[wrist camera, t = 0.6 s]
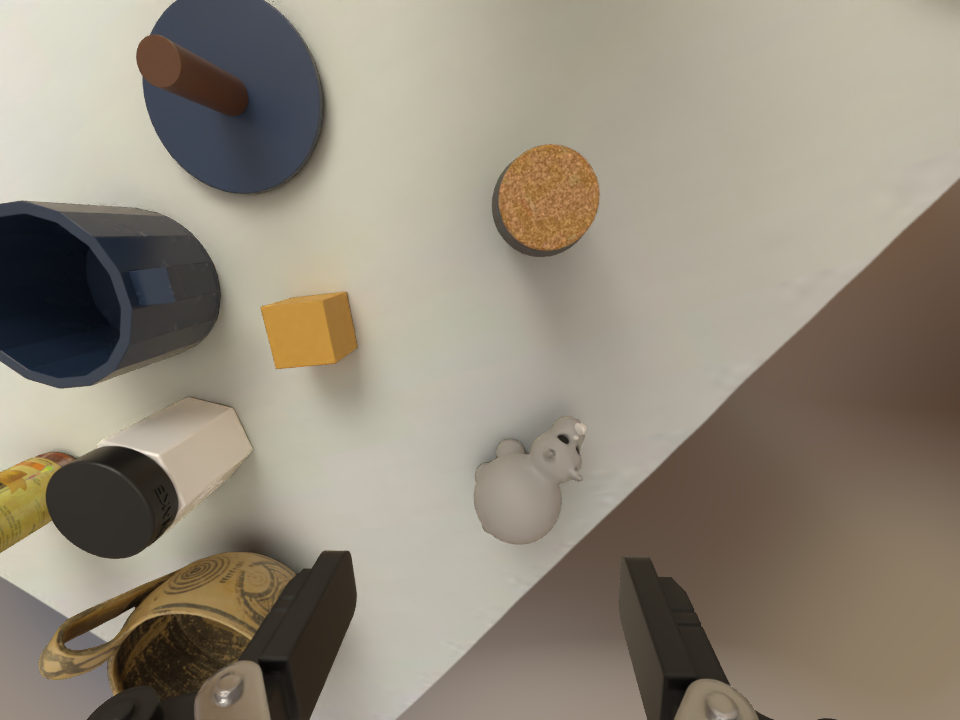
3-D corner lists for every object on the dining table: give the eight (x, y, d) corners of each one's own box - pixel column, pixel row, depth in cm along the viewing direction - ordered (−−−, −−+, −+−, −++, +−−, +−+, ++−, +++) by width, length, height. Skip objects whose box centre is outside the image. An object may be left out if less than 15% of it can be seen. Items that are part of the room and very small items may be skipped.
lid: (130, 12, 33) (11, -56, 25) (304, -21, 32) (234, -104, 24) (184, 204, 37) (95, 197, 29) (342, 182, 36) (293, 168, 28)
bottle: (579, 239, 35) (623, 244, 21) (508, 258, 36) (503, 276, 22) (563, 163, 34) (599, 111, 20) (490, 185, 35) (471, 151, 20)
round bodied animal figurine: (608, 430, 40) (633, 481, 32) (520, 514, 43) (521, 581, 35) (549, 379, 39) (558, 419, 31) (462, 469, 42) (450, 527, 34)
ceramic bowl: (392, 602, 47) (338, 766, 33) (305, 686, 51) (223, 863, 37) (217, 474, 44) (73, 592, 30) (141, 575, 49) (-16, 719, 34)
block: (291, 297, 38) (260, 307, 34) (346, 291, 38) (322, 300, 33) (304, 352, 40) (275, 369, 35) (357, 347, 39) (335, 363, 35)
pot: (34, 223, 38) (-115, 220, 29) (227, 196, 37) (131, 184, 27) (85, 361, 42) (-34, 397, 33) (264, 343, 40) (190, 376, 31)
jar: (219, 492, 45) (117, 582, 33) (152, 440, 44) (22, 515, 32) (268, 435, 42) (177, 511, 31) (199, 379, 41) (78, 435, 30)
